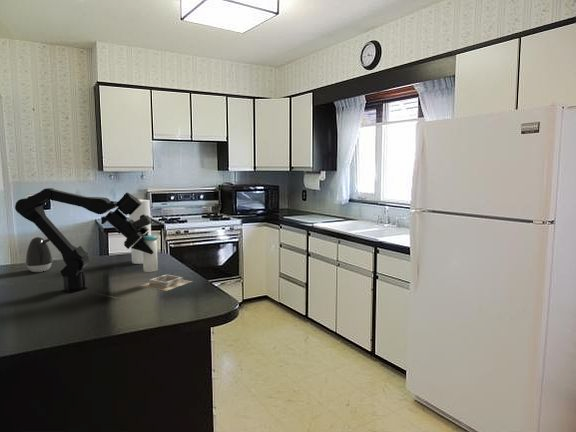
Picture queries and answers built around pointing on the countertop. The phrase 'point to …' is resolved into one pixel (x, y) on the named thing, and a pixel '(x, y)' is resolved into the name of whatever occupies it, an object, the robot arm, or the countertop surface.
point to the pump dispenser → (38, 255)
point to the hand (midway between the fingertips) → (153, 251)
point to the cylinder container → (145, 209)
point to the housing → (166, 282)
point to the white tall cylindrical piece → (150, 259)
